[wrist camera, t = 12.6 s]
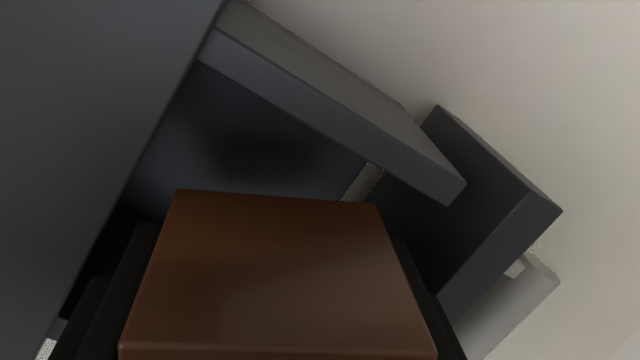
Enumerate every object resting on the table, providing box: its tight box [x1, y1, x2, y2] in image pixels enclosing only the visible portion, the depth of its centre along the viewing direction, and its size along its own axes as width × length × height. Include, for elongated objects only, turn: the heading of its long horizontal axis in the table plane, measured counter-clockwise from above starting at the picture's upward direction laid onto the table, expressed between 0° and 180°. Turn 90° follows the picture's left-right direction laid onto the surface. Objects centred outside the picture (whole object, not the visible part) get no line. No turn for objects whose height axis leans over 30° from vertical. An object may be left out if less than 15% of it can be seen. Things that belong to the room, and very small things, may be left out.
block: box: [117, 188, 438, 360], centre depth 9 cm, size 4×4×4 cm
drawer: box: [46, 0, 563, 360], centre depth 15 cm, size 17×10×7 cm, turn 57°
